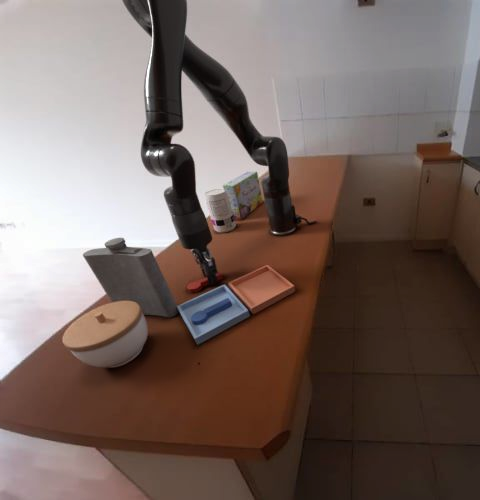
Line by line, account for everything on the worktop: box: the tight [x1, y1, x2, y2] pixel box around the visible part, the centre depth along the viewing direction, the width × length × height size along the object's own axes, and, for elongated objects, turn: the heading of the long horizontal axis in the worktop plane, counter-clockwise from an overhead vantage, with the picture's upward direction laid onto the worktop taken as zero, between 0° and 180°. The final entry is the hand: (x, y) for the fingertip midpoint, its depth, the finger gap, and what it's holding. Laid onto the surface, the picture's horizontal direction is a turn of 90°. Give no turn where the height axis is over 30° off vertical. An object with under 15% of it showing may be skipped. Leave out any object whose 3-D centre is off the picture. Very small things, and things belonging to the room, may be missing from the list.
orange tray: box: [227, 264, 296, 315], centre depth 74 cm, size 12×14×2 cm
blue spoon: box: [191, 298, 232, 325], centre depth 66 cm, size 9×4×2 cm, turn 131°
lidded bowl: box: [61, 301, 149, 368], centre depth 56 cm, size 13×13×11 cm
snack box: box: [222, 171, 264, 221], centre depth 121 cm, size 21×6×15 cm, turn 168°
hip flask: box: [82, 237, 180, 318], centre depth 65 cm, size 16×4×20 cm, turn 83°
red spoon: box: [187, 271, 224, 294], centre depth 78 cm, size 9×4×2 cm, turn 131°
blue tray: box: [177, 284, 251, 345], centre depth 67 cm, size 12×14×2 cm
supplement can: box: [204, 188, 237, 234], centre depth 106 cm, size 8×8×15 cm
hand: (211, 281), depth 79 cm, fingers open, 3 cm apart
